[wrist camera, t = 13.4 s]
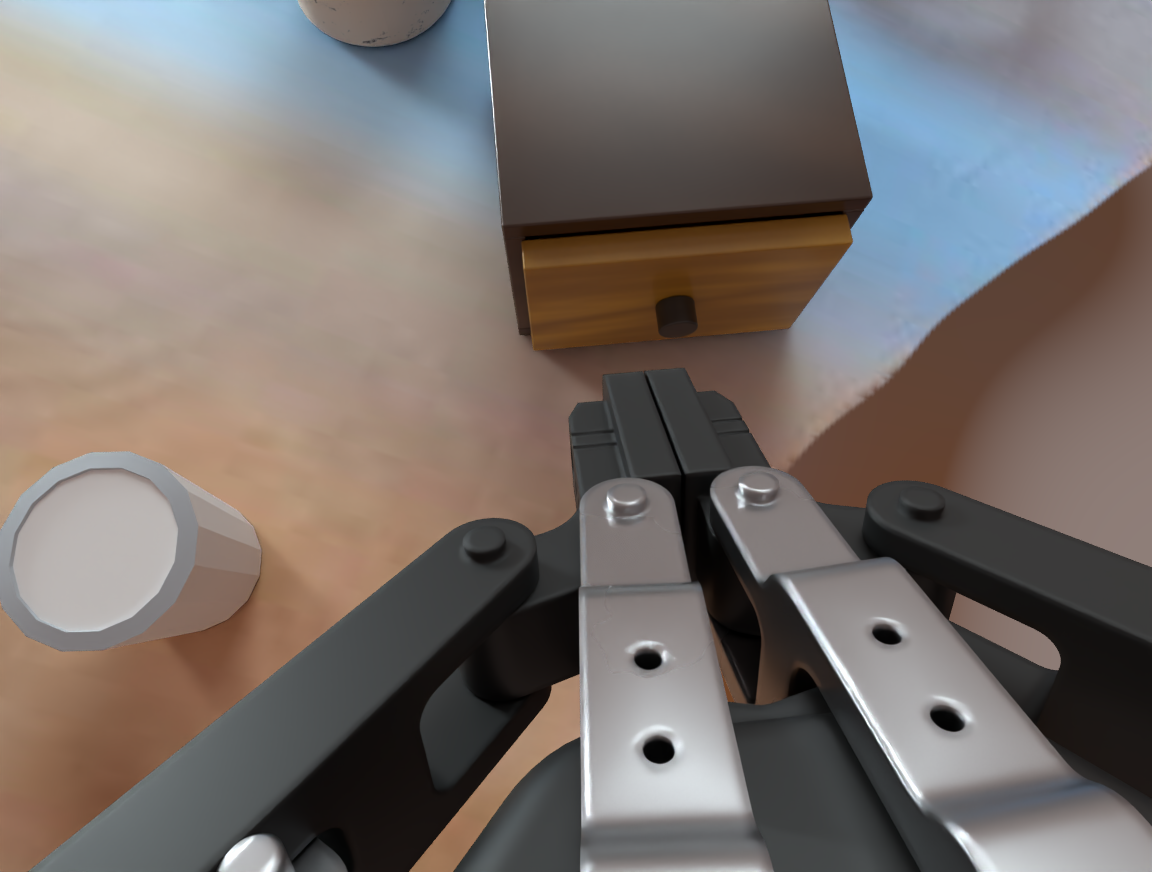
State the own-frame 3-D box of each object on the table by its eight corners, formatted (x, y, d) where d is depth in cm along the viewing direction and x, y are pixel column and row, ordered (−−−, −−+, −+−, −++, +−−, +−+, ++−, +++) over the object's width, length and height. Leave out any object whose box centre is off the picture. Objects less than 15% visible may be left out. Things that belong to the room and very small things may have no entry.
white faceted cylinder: (185, 458, 33) (86, 413, 26) (308, 539, 32) (238, 515, 25) (81, 590, 31) (-54, 580, 24) (207, 679, 30) (103, 695, 23)
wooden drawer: (794, 353, 33) (860, 272, 26) (535, 376, 33) (525, 300, 25) (744, 84, 37) (789, -55, 29) (511, 101, 37) (496, -35, 29)
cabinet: (792, 312, 35) (874, 197, 25) (519, 335, 34) (501, 227, 25) (744, 59, 38) (801, -122, 29) (497, 77, 38) (475, -101, 29)
